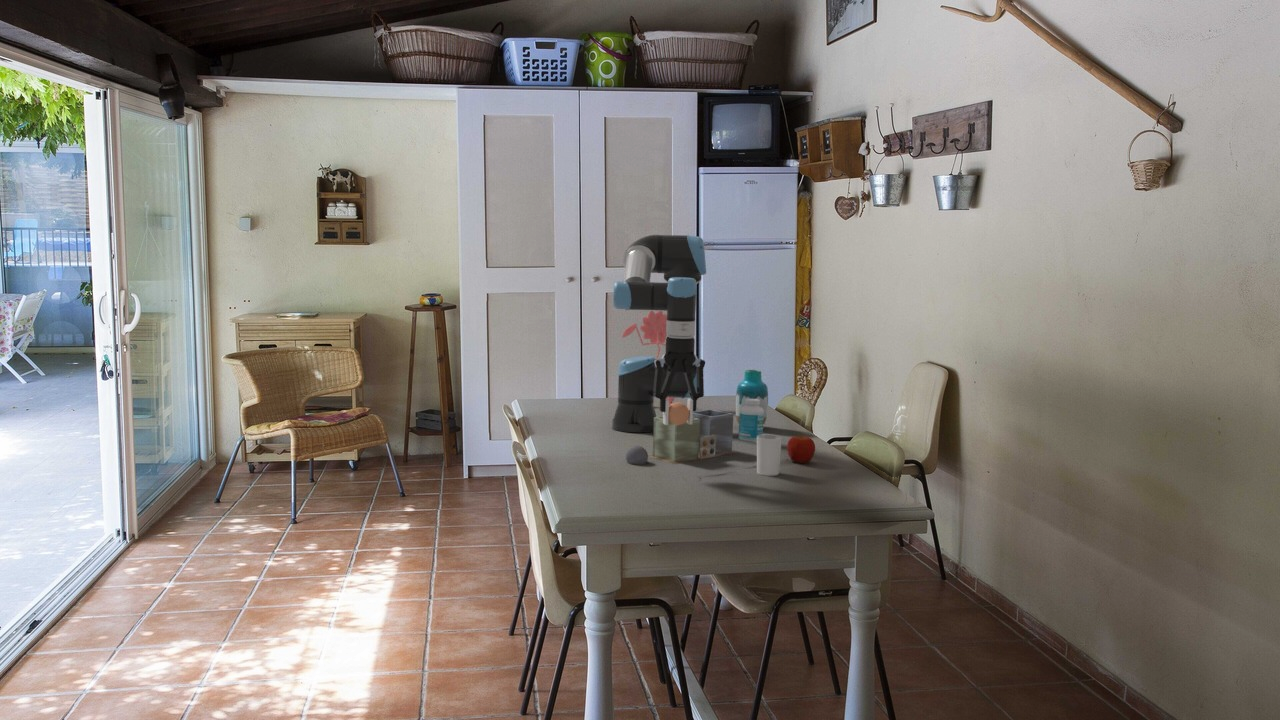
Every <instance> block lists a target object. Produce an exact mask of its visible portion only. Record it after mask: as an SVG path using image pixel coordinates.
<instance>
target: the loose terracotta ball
mask: <svg viewBox="0 0 1280 720" xmlns="http://www.w3.org/2000/svg"><path fill="white" fill-rule="evenodd" d="M688 418H689V410H688V408H687V405H686V404H684V403H683V402H677V401H676V402H672V403H671V404H670V406H669V415H668V420H669V421H670V422H671V423H672V424H674V425H681V424H684V423H685V422H686V421H687V420H688Z"/></svg>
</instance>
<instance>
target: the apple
mask: <svg viewBox="0 0 1280 720" xmlns="http://www.w3.org/2000/svg"><path fill="white" fill-rule="evenodd" d="M786 450H787V453H788V456H789V457H790V460H791V461H793V462H794V463H796V462H797V463H796V464H808V463H809V462H811V461H812V459H813V457H814V454H815V451H816V445H815V442H814V440H813V439H812V438H811V437H808V436H803V435H795V436H792V437H791V438H790V439H789V440H788V441H787V444H786Z"/></svg>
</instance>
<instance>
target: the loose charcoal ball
mask: <svg viewBox="0 0 1280 720" xmlns="http://www.w3.org/2000/svg"><path fill="white" fill-rule="evenodd" d="M648 456H649V454H648V451H647V450H646V449H645V447H643V446H641V445H633V446H631V447H630V448H628V450H626V454H625V460H626V462H627V464H630V465H635V466H636V465H645V464H647V462H648V460H649V457H648Z"/></svg>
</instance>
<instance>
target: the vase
mask: <svg viewBox="0 0 1280 720" xmlns="http://www.w3.org/2000/svg"><path fill="white" fill-rule="evenodd" d="M743 376H744V377H743V380H741V381H740V382H739V383H738V384H737V387H736V393H735V419H736V422H737V424H738V425H739V416H740V409H741V407H743V406H745V403H744V402H745V399H758V400H760V405H759V407H761V408H763V410H764V422H763V426H764V424H765V423H766V421H767V418H768V417H767V416H768V407H769V391H768V390H769V389H768V385H767V384H766V383H765V382H763V380H762V371H761V370H759V369H746V370H744V375H743Z"/></svg>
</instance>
